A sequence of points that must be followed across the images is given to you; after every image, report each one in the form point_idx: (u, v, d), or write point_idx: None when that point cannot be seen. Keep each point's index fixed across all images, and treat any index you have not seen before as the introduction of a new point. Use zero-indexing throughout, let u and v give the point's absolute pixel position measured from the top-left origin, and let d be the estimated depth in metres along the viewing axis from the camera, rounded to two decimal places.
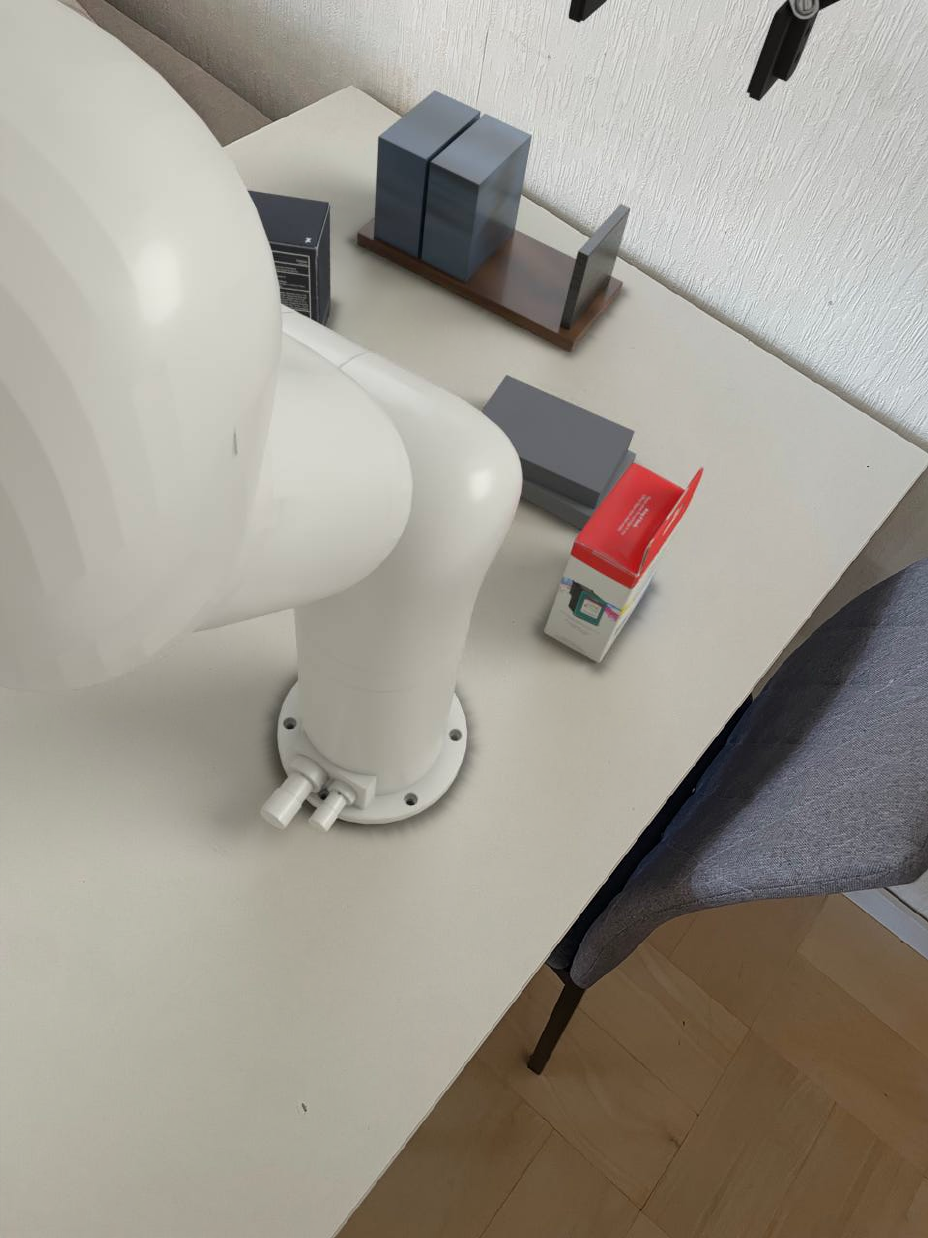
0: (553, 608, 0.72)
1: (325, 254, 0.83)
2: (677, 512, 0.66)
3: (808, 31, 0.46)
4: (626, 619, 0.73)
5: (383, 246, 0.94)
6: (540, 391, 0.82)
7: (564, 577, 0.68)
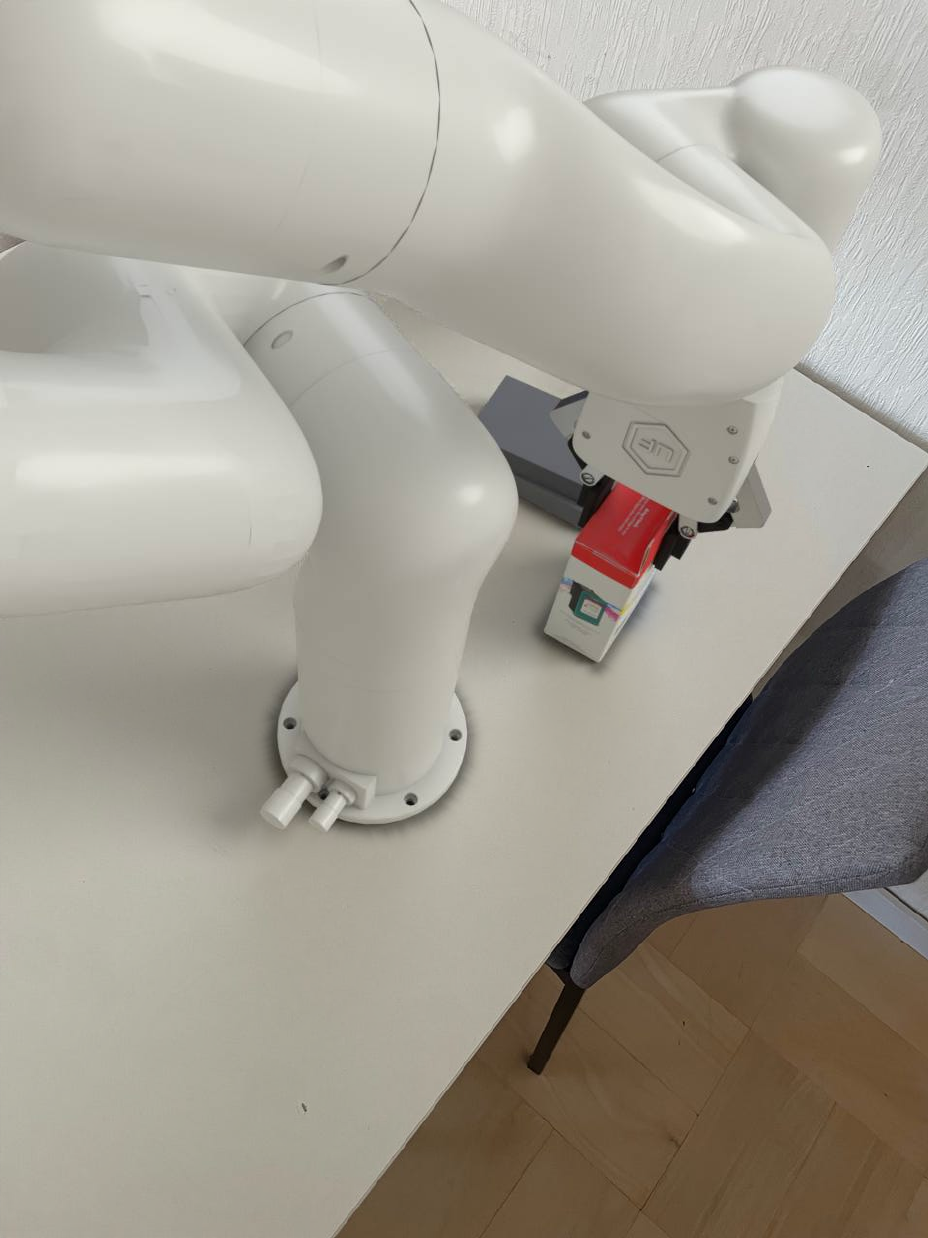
0: (553, 608, 0.72)
1: None
2: None
3: None
4: (626, 619, 0.73)
5: None
6: (540, 391, 0.82)
7: (564, 577, 0.68)
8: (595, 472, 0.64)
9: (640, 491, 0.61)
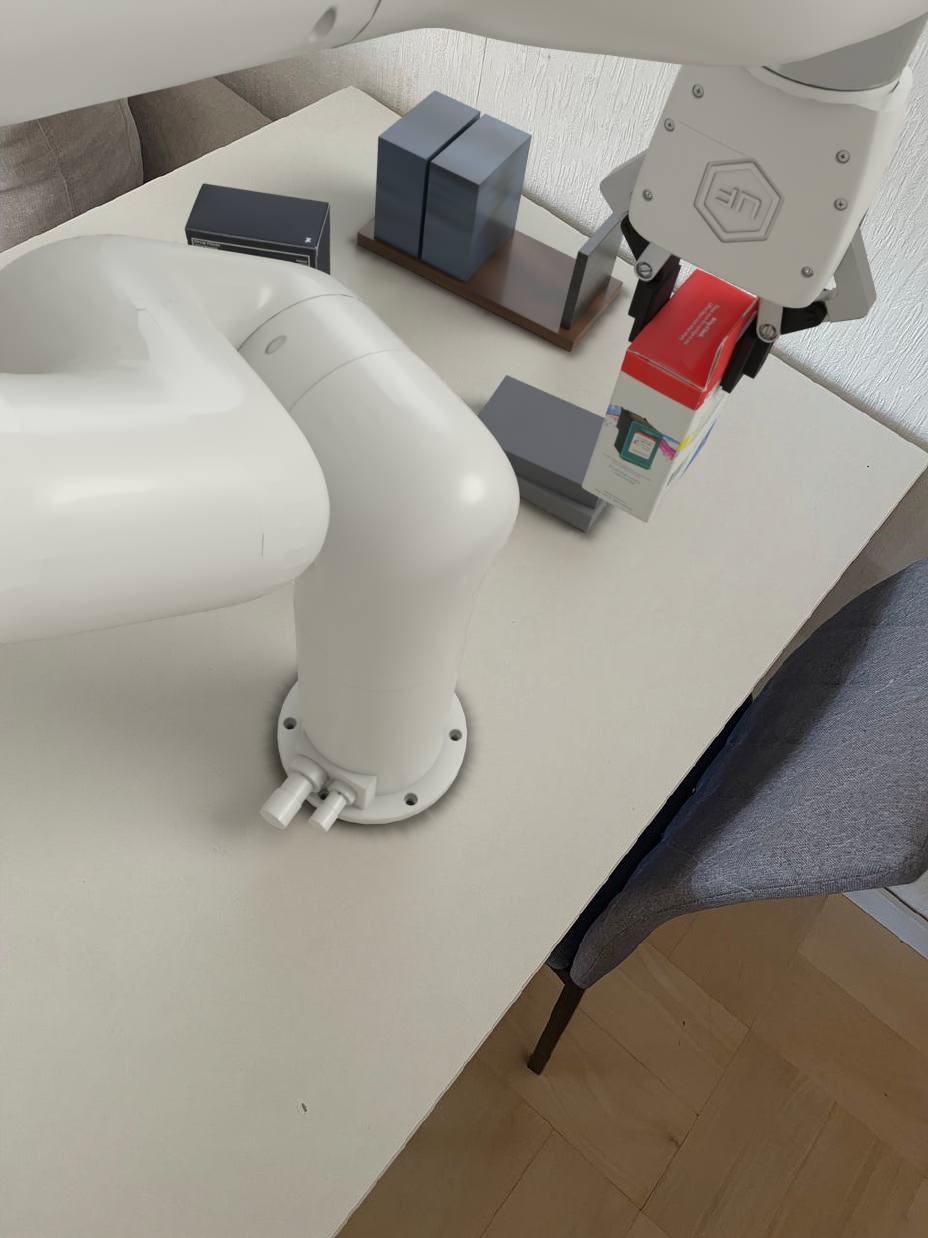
0: (595, 451, 0.60)
1: (325, 254, 0.83)
2: (753, 318, 0.54)
3: (772, 342, 0.53)
4: (681, 469, 0.61)
5: (383, 246, 0.94)
6: (540, 391, 0.82)
7: (611, 404, 0.56)
8: (654, 259, 0.52)
9: (713, 270, 0.49)
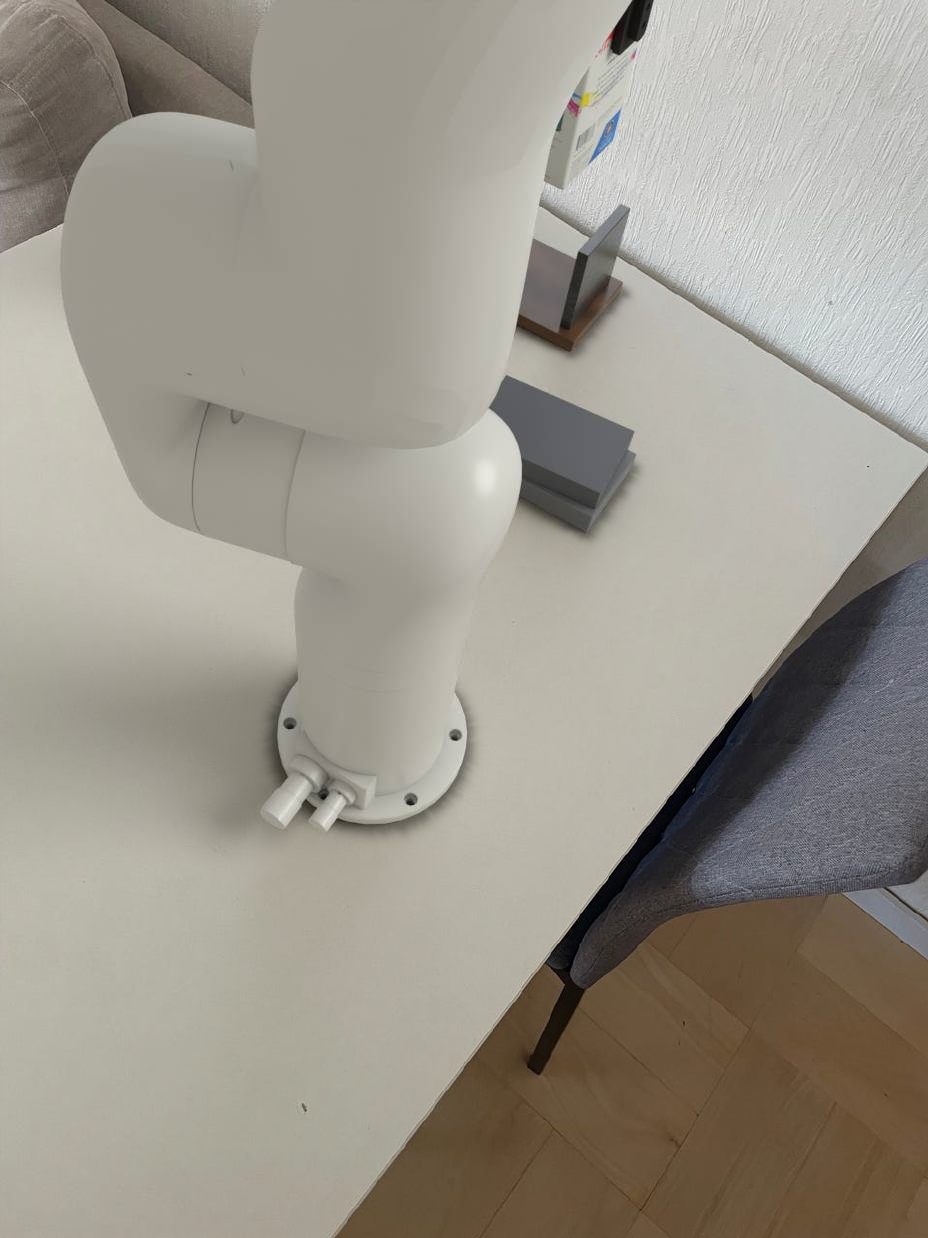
0: None
1: None
2: None
3: (649, 7, 0.68)
4: (589, 141, 0.76)
5: None
6: (540, 391, 0.82)
7: None
8: None
9: None
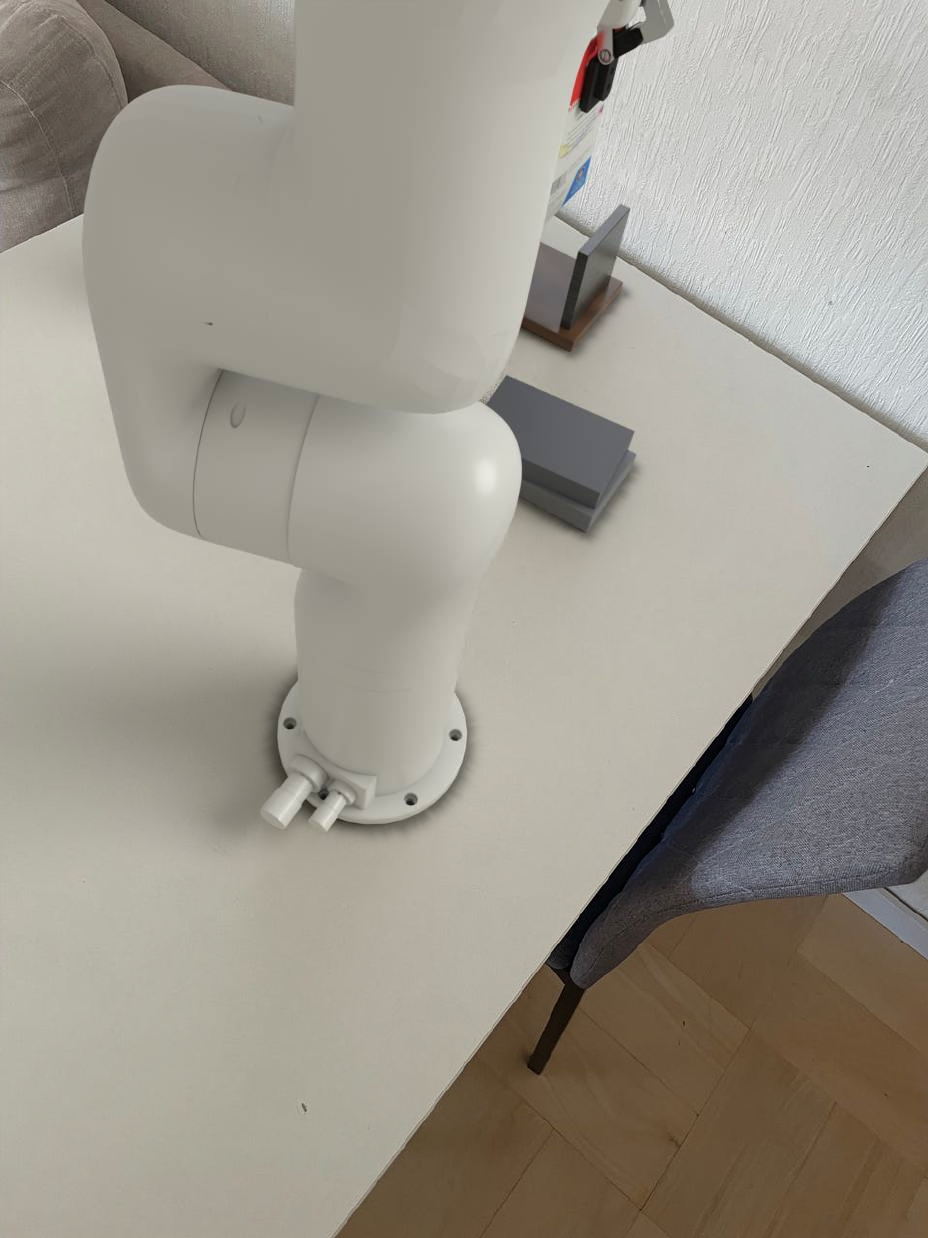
0: None
1: None
2: None
3: (613, 71, 0.76)
4: (562, 187, 0.84)
5: None
6: (540, 391, 0.82)
7: None
8: None
9: None
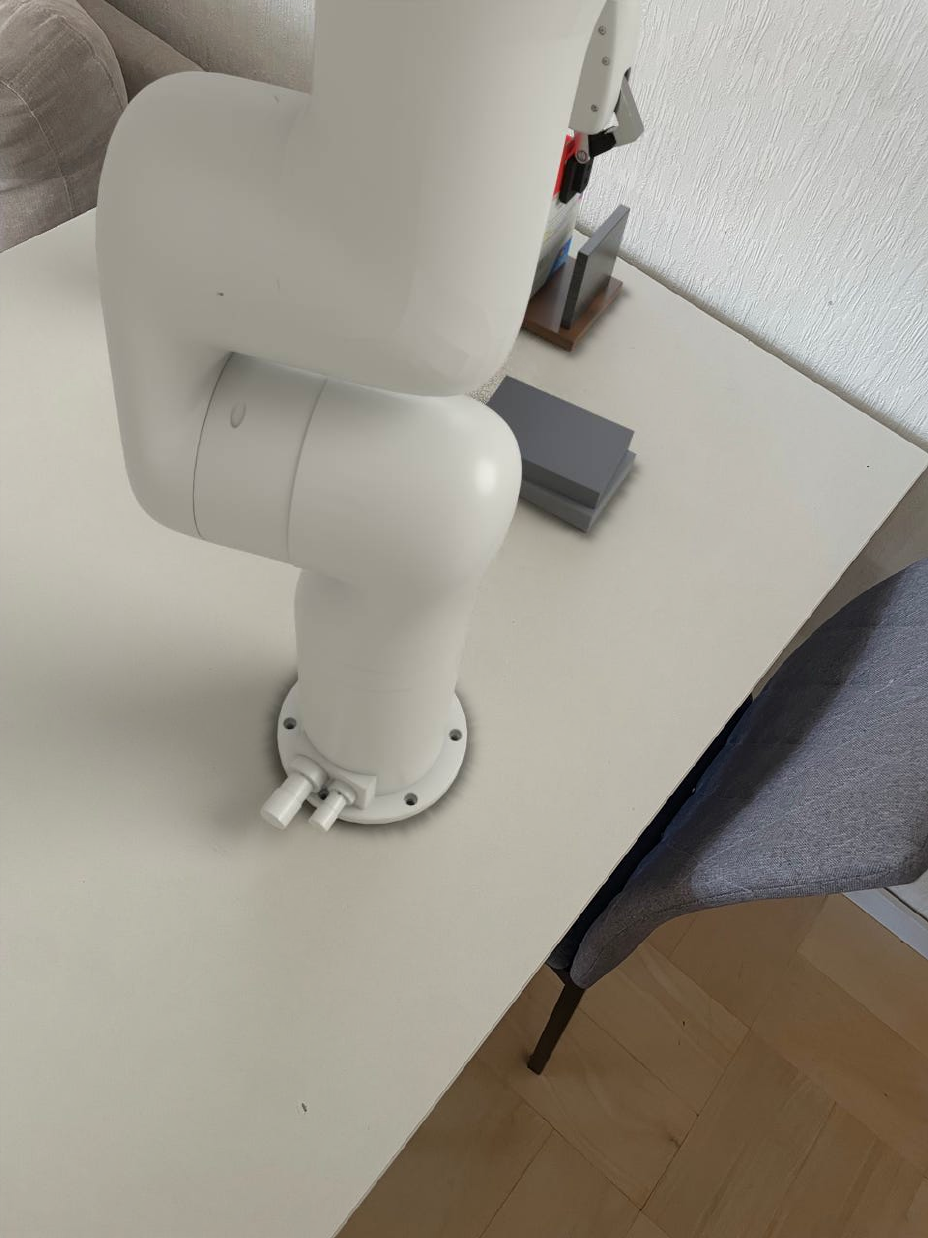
0: None
1: None
2: None
3: (589, 167, 0.83)
4: (544, 267, 0.90)
5: None
6: (540, 391, 0.82)
7: None
8: None
9: None
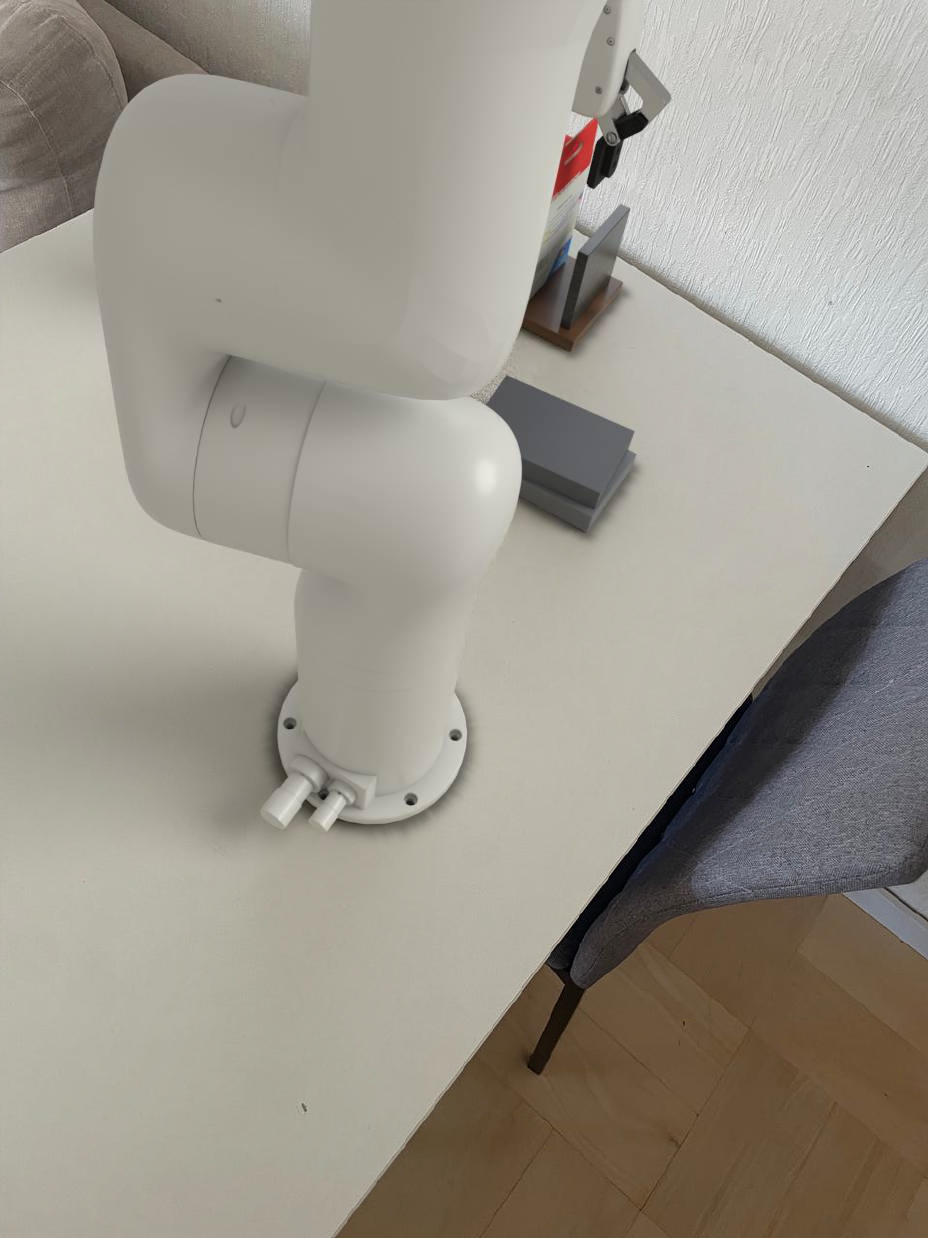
0: None
1: None
2: (577, 151, 0.83)
3: (618, 150, 0.80)
4: (544, 267, 0.90)
5: None
6: (540, 391, 0.82)
7: None
8: None
9: None
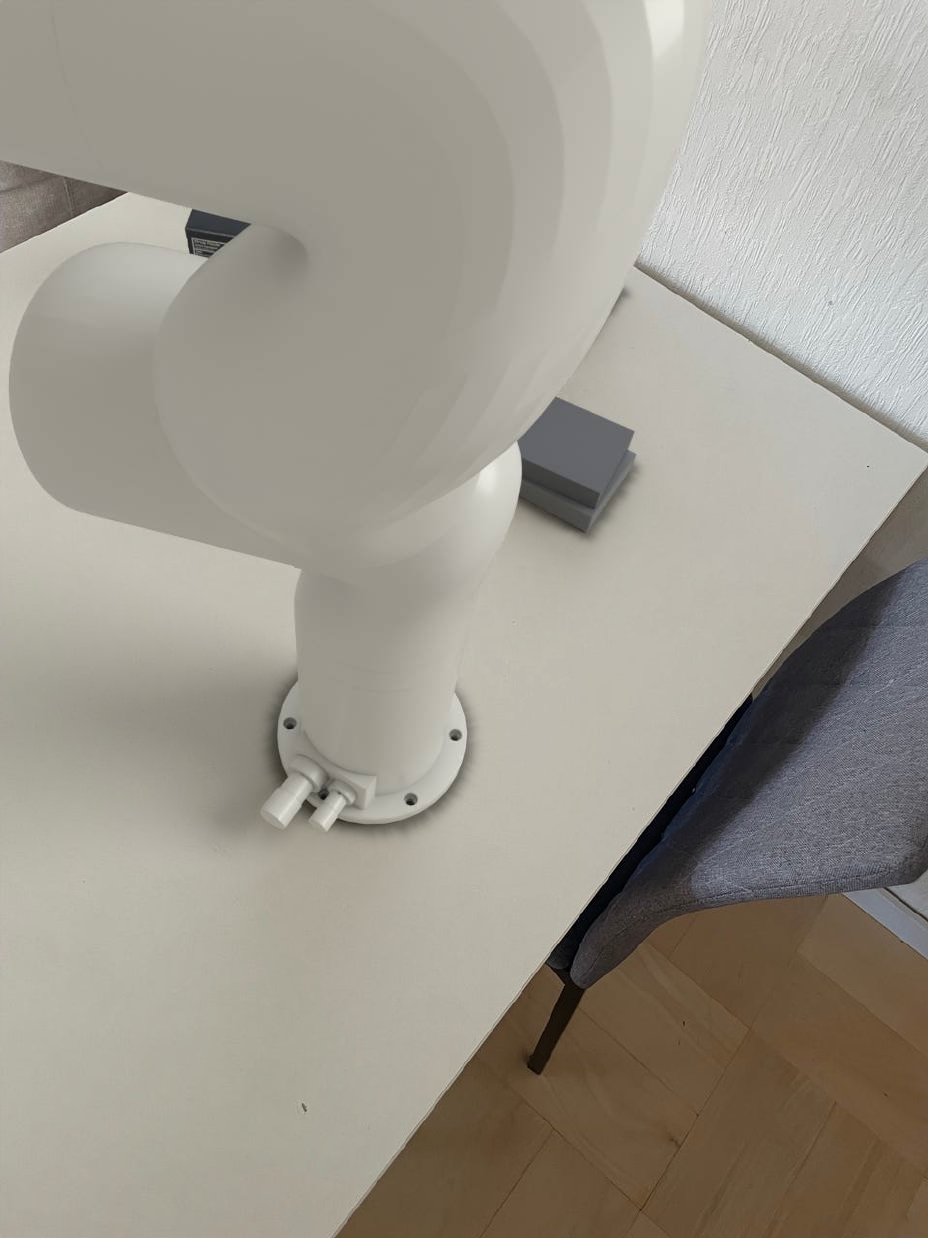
0: None
1: None
2: None
3: None
4: None
5: None
6: None
7: None
8: None
9: None
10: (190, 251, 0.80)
